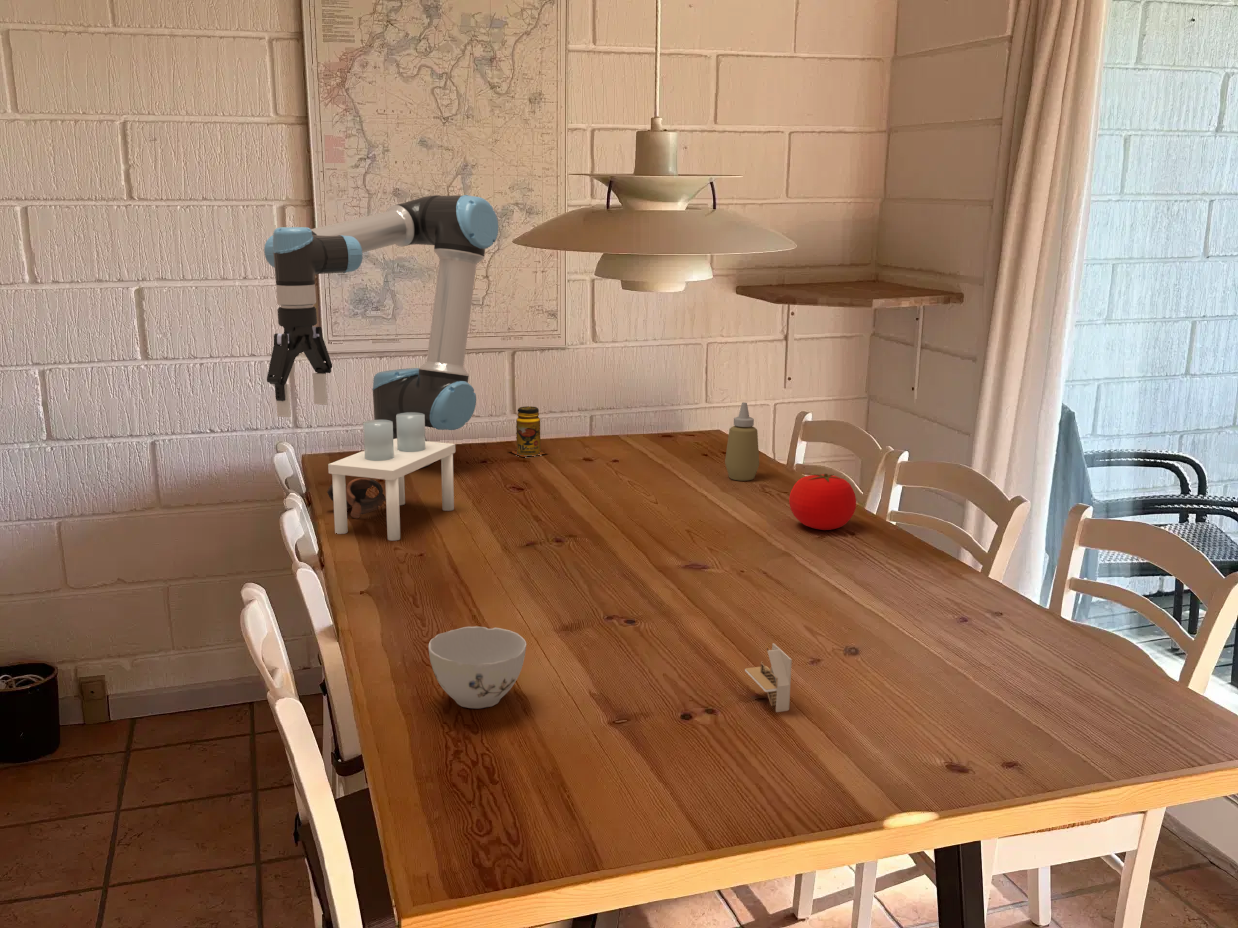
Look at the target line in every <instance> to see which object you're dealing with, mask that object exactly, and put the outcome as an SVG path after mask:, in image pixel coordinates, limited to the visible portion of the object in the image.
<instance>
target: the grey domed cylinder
mask: <svg viewBox="0 0 1238 928" xmlns="http://www.w3.org/2000/svg"><path fill="white" fill-rule="evenodd" d="M396 423H397V450H399V451H403V452H418V451H423V450H425V437H426V428H425V427H426V426H425V414H423V413H417V412H407V413H400V414H397V415H396Z"/></svg>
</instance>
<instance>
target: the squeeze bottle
mask: <svg viewBox="0 0 1238 928" xmlns="http://www.w3.org/2000/svg"><path fill="white" fill-rule="evenodd" d="M754 419H755V418H753V417H750V413H749V407H748V402H746V401H745V402H741V405H740V408H739V413H738V416H735V417H734V418H733V425H732V426H731V427H730V428H729V430H728V438H727V445H726V450H725V451H726V452H725V460H724V464H725V468H726V471H727V475H728V478H729V479H731V480H734V481H742V482H744V481H745V482H746V481H752V480H754V479H755V477H756V474H757V472H758V469H759V466H760V456H759V455H760V453H759V435H758V429H757V428H756V427H755V426H754V425H755V424H754V423H755V422H754V421H755V420H754Z"/></svg>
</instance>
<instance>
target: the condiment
mask: <svg viewBox="0 0 1238 928" xmlns="http://www.w3.org/2000/svg"><path fill="white" fill-rule="evenodd" d="M539 416H540V411H539V407H537V406H527V405H526V406H521V407H518V408H517V418H516V421H515V423H516V426H515V429H516V433H515V434H516V437H515V438H516V442H515V443H516V450H517V454H519V455H524V456H532V455H538V454H540V451H542V450H541V447H542V446H541V444H542V443H541V419H540V418H539Z"/></svg>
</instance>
